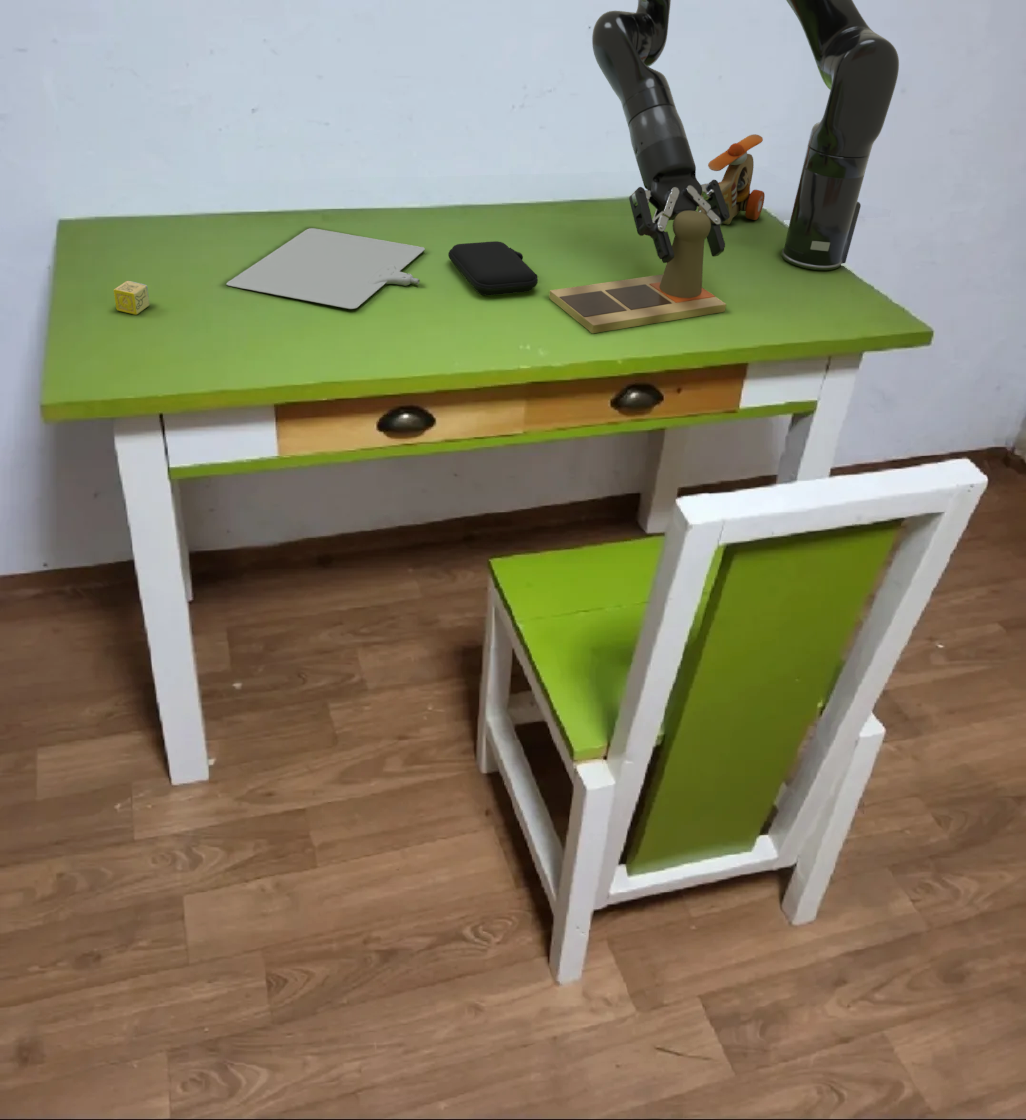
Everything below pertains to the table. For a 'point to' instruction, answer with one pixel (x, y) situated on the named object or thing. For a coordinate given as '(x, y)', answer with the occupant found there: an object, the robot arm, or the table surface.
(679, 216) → the olive brown pawn
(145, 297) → the alphabet block
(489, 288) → the carrying case
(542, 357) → the table surface
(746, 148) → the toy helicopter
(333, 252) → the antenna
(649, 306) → the board
